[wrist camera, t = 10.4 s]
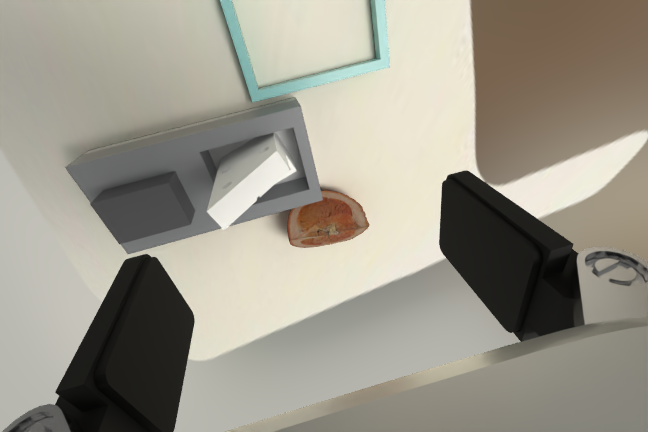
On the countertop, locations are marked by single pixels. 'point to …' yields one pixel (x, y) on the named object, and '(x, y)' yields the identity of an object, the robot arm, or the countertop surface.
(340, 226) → the fruit slice
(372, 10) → the tray frame
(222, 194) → the white angled block
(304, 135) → the grey slotted holder
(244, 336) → the countertop surface
